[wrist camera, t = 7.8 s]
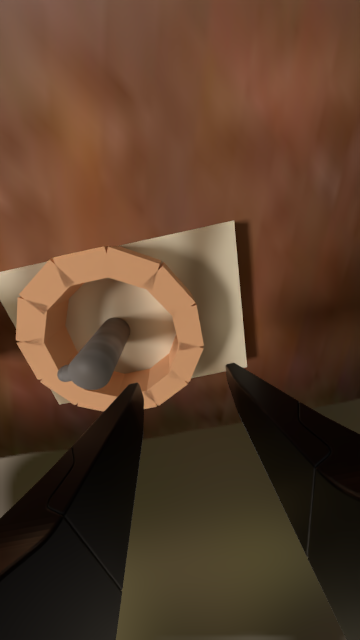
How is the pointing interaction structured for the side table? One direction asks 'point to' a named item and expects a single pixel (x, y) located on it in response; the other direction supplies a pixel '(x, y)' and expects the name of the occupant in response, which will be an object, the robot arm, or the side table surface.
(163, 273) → the orange segmented ring
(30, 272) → the cream flat pegged piece
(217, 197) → the side table surface
